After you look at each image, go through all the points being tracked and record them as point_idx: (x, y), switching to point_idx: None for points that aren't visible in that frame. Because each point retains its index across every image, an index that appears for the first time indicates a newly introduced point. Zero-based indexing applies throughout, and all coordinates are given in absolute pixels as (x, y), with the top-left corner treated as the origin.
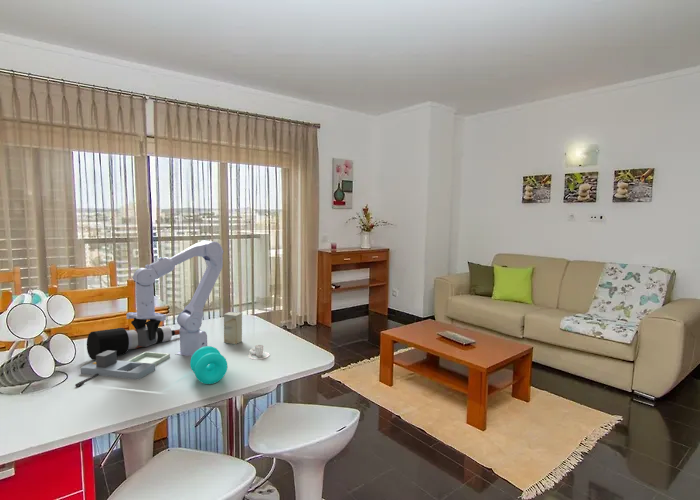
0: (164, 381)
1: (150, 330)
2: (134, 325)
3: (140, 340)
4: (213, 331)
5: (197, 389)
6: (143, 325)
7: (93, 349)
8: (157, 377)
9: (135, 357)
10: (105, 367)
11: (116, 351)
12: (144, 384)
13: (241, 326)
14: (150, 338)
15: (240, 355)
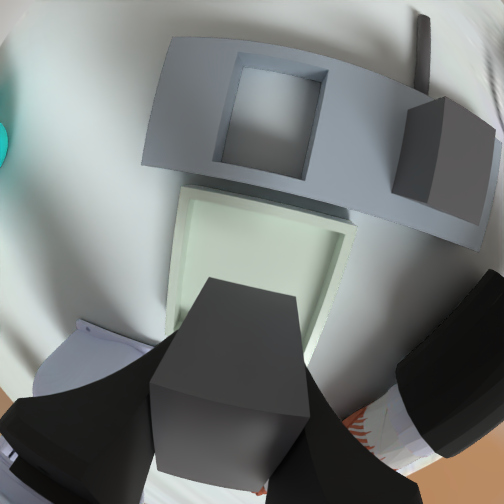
0: (84, 74)
1: (112, 379)
2: (366, 469)
3: (269, 319)
4: (181, 483)
5: (8, 68)
6: (276, 488)
7: None
8: (119, 98)
9: (327, 292)
10: (408, 110)
11: (437, 333)
12: (145, 31)
13: None
14: (171, 337)
15: (5, 314)
